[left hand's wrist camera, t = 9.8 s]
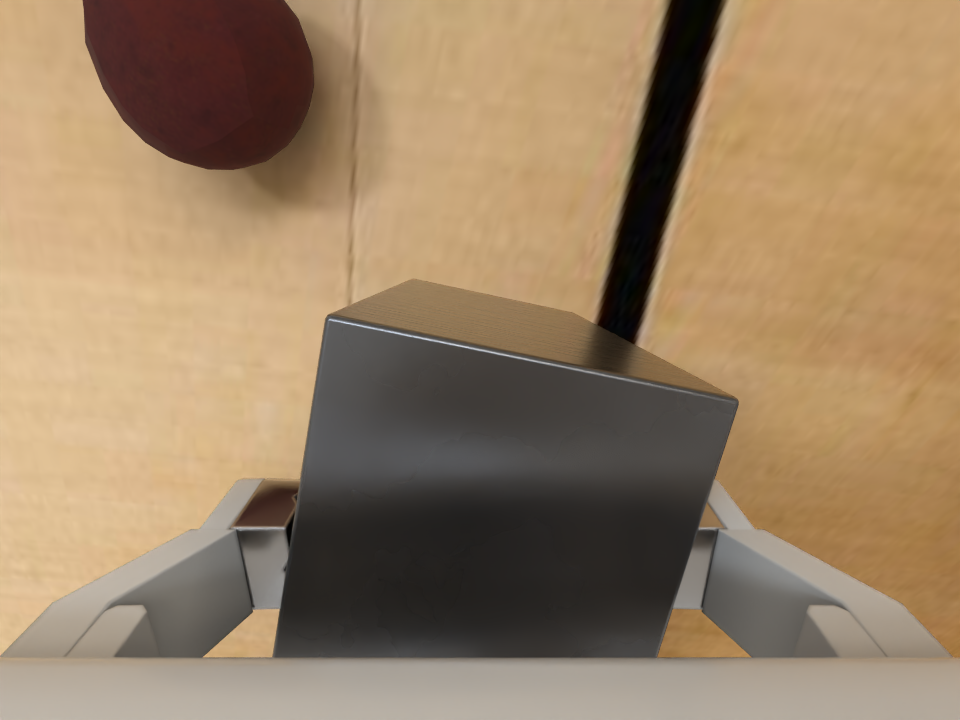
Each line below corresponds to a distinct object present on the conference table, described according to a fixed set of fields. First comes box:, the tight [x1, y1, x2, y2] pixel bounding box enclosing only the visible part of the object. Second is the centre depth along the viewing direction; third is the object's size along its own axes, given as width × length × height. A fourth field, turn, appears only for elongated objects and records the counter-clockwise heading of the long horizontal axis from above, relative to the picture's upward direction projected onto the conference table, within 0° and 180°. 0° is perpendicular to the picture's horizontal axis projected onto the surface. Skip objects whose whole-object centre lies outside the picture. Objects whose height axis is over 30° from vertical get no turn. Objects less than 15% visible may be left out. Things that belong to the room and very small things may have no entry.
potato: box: [83, 0, 314, 170], centre depth 19 cm, size 7×8×7 cm
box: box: [272, 279, 738, 658], centre depth 15 cm, size 23×6×12 cm, turn 168°
